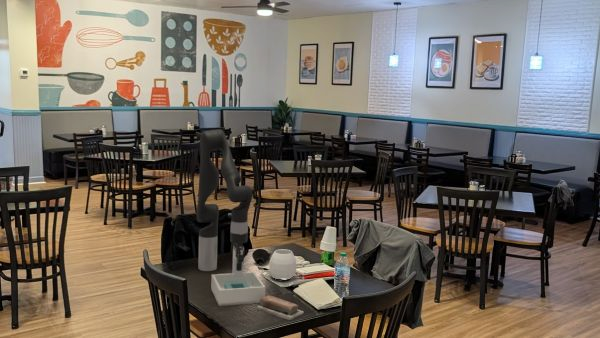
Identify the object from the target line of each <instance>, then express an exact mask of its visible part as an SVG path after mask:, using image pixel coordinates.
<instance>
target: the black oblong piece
mask: <svg viewBox="0 0 600 338" xmlns="http://www.w3.org/2000/svg"><path fill="white" fill-rule="evenodd" d="M270 251H271V250H270V249H268V250H266V249H263V248H257V249H255V250H254V251H253V252H252V259H253V261H254V262H255V264H257V265H258V266H262V265H264V264H266V263H268V261H270V259H271V257H272V252H270ZM260 263H263V264H260Z"/></svg>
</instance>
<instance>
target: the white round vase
mask: <svg viewBox="0 0 600 338" xmlns="http://www.w3.org/2000/svg"><path fill="white" fill-rule="evenodd" d="M268 270H269V274H270V276H271V277H272V278H273V279H274V278H275V279H274V280H276V279H280V278H290V277H293V276H295V274H296V272H297V259H296V256H295V255H294V253H293V251H292V250H290V249H284V248H282V249H281V248H280V249H276V250H274V252H273V253H272V254H271V256H270V259H269V269H268ZM293 278H294V277H293Z"/></svg>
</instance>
